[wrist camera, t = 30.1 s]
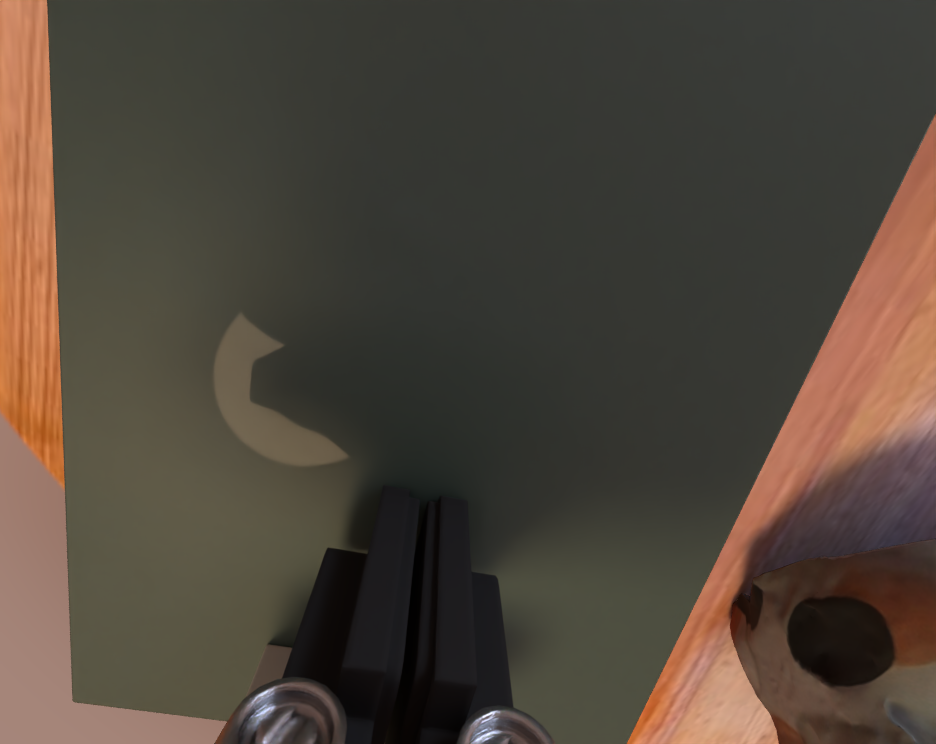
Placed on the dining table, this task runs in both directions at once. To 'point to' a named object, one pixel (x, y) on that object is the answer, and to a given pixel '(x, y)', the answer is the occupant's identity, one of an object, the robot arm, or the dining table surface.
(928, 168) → the dining table surface
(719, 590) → the dining table surface
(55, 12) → the lid
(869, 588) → the lucky cat figurine
